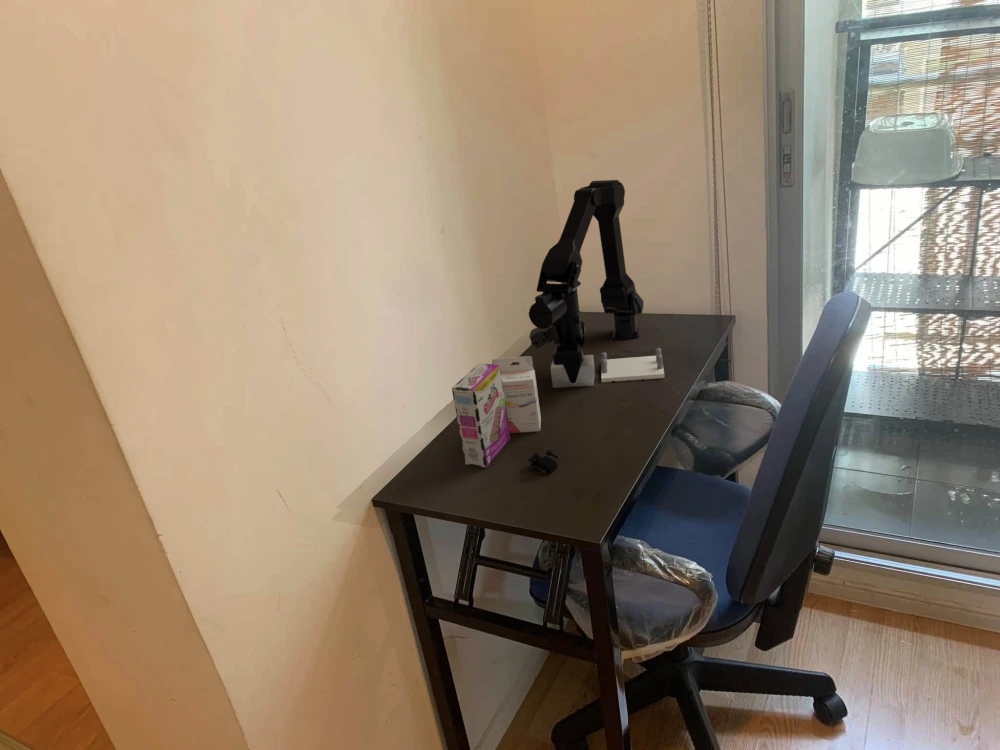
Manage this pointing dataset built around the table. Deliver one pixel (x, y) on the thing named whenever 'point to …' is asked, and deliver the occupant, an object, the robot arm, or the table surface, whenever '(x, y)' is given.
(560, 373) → the block
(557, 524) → the table surface
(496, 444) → the candy bar box
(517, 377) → the ink cartridge box
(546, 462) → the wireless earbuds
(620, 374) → the pin tray
